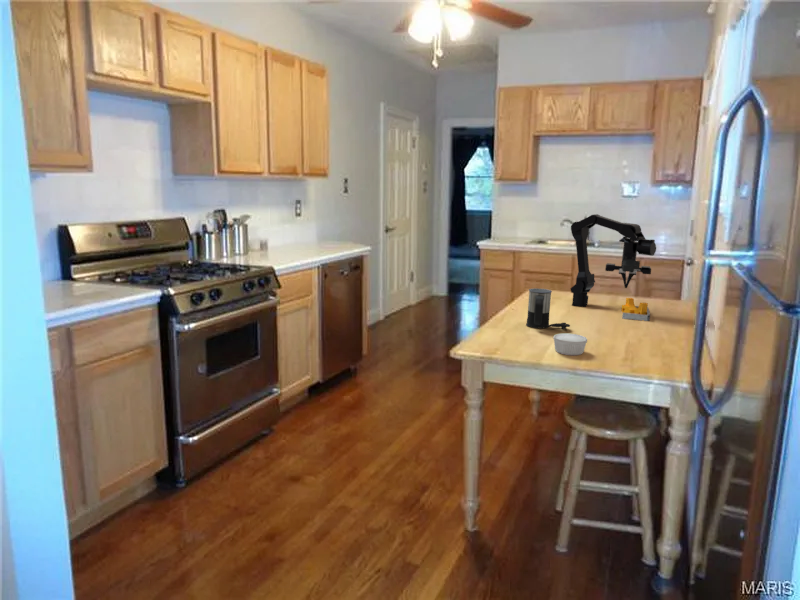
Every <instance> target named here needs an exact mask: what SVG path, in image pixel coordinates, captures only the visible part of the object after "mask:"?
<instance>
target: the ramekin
mask: <svg viewBox="0 0 800 600" xmlns="http://www.w3.org/2000/svg"><path fill="white" fill-rule="evenodd" d="M553 343H554V350H555V352H557V353H558V354H561V355H566V356H580V355H582V354H583V353H584V352H585V348H586V344H587V343H588V338H587V337H585V336H583V335H580V334H576V333H569V332H568V333H557V334H554V335H553Z"/></svg>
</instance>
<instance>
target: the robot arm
mask: <svg viewBox="0 0 800 600" xmlns="http://www.w3.org/2000/svg"><path fill="white" fill-rule="evenodd" d="M596 225H598V226H601V227H604V228H607V229H609V230H612V231H616V232H618V233H619V235H621V236H622V238H620V239H619V241H618V242H619V243H623V248H622V257H621V264H620V265H616V263H610V262H607V263H606V264H605V269H604V270H605V272H614V271H618V274H619V275H621V277H622V280H623V285H624V289H627V288H628V286H629V284H630V282H631V281H632V279H633V277H634V276H637V272H639V273H642V274H643V275H651V274H652V267H650V266H649V265H648V266H647V265H640V264H641V263H640V262H641V261H640V260H637V255H638V254H639V255H643V256H655V254H656V252H657V245H656V243H655V242H656V241H655V239H647V238H645V236H644V234H643V232H642V228H641V226H640V225H639V224H636V223H630V222H620V221H618V220H614V219H612V218H608V217H605V216H603V215H600V214H597V213H596V214H591V215H589V216H588V217H586V218H583V219H580V220H579V221H575V222H573V223H572V224H571V225H570V231H571V235H572V237H573V239H574V241H575V245H576V246H575V247H576V257H577V258H576V259H577V268H578V269H577V270H578V272H577V275H576V278H575V284H574V285H572V286H571V287H570V292H571V293H572V303H571V306H573V307H582V306H583V307H585V308H586V307H587V306H588V304H589V303H588V302H589V295H588V293H590V291H591V289H592V288H594V285H595V283H596V280H595V274H594V273H592V272H591V271H590V266H589V264H590V263H589V255H588V254H589V253H588V243H587V242H588V241H587V240H588V237H589V234H590V229H591V228H593V227H594V226H596ZM627 272H628V274H626V273H627Z"/></svg>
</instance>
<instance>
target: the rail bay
mask: <svg viewBox="0 0 800 600" xmlns="http://www.w3.org/2000/svg"><path fill="white" fill-rule="evenodd" d="M635 307H636V308H638V307H639V305H635ZM649 309H650V308H649V306H648V307H647V315H644V314H634V313H624V312H622V316H621V317H622V319H624V320H632V319H633V321H635V320H636V321H642V320H644V322H650V320H651V313H650V310H649Z"/></svg>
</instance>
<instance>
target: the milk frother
mask: <svg viewBox="0 0 800 600" xmlns="http://www.w3.org/2000/svg"><path fill="white" fill-rule="evenodd" d="M528 291H529V292H528V302H527V303H528V304H527V305H528V306H527V318H526V323H525V324H526V327H530V328H534V329H548V328H550V327H552V328H561V330H567V328H570V327H571V324H570V323H566V322H559V323H557V322H556V323H550V310H551V298H552V292H553V290H552V289H547V288H537V287H536V288H529V289H528Z"/></svg>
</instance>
